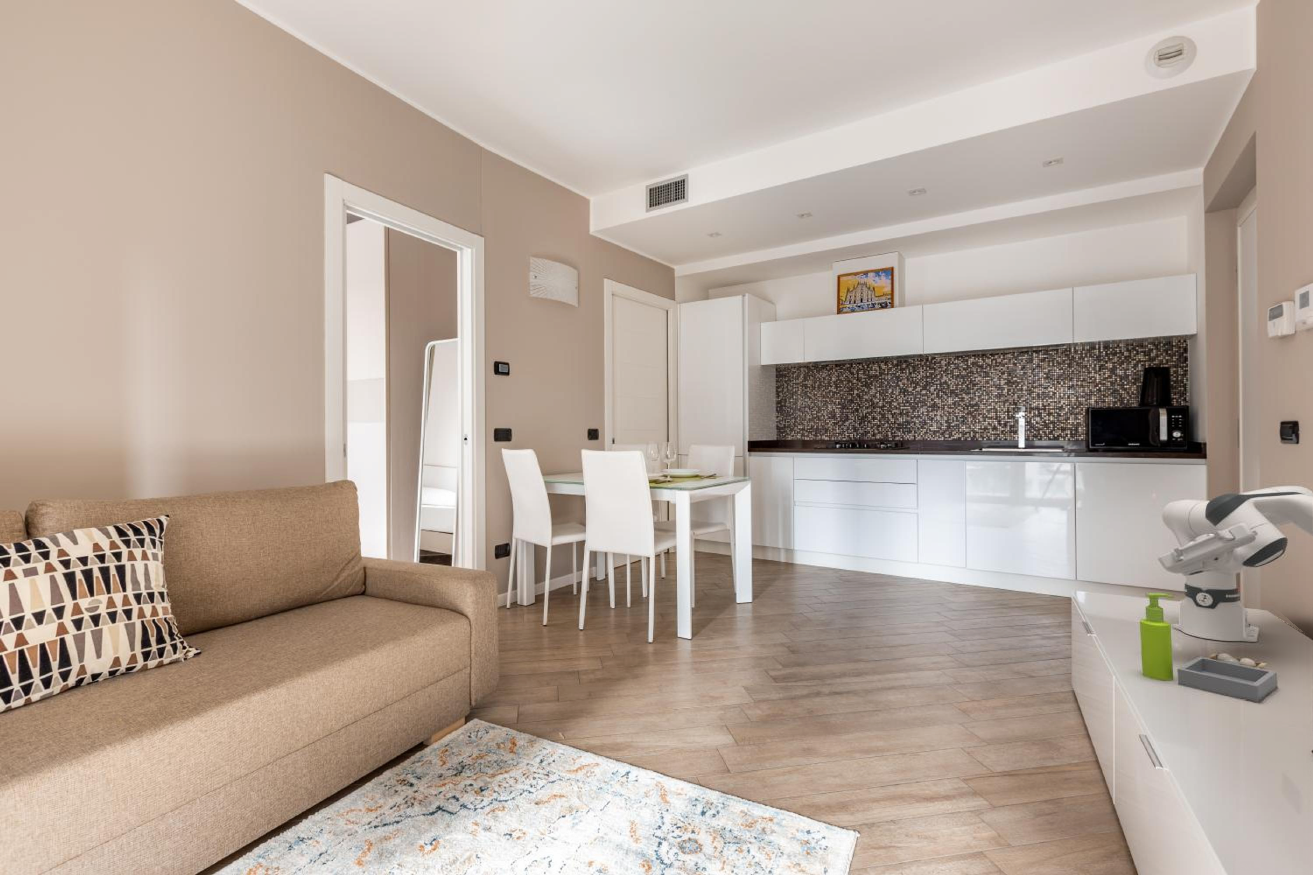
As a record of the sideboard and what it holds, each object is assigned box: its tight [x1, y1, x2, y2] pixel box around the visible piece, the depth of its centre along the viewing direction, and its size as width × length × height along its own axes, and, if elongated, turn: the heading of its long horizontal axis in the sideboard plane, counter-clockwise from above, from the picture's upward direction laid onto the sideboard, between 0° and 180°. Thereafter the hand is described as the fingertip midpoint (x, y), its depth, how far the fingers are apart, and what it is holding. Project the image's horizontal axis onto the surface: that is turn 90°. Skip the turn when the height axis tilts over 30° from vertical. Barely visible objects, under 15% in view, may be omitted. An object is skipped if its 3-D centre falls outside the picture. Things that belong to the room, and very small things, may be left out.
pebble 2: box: [1224, 657, 1240, 665], centre depth 154 cm, size 3×3×3 cm
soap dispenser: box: [1139, 592, 1175, 681], centre depth 154 cm, size 6×7×20 cm
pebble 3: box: [1239, 657, 1256, 668], centre depth 154 cm, size 3×3×3 cm
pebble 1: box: [1217, 652, 1233, 661], centre depth 157 cm, size 3×3×3 cm
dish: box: [1177, 656, 1278, 704], centre depth 146 cm, size 14×14×4 cm
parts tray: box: [1205, 652, 1268, 670], centre depth 155 cm, size 8×10×2 cm
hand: (1197, 543), depth 156 cm, fingers open, 8 cm apart
